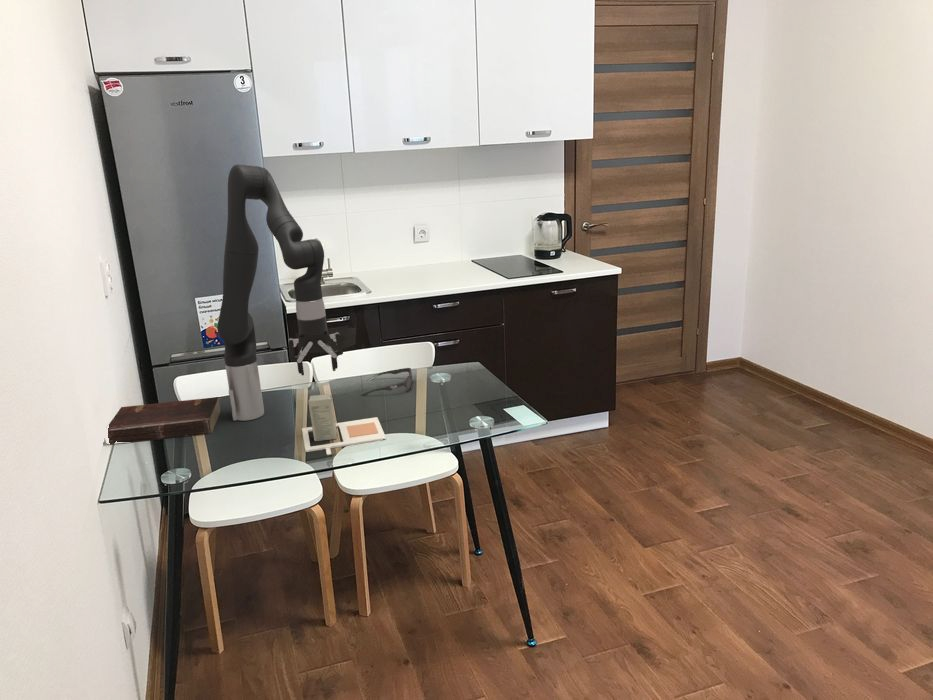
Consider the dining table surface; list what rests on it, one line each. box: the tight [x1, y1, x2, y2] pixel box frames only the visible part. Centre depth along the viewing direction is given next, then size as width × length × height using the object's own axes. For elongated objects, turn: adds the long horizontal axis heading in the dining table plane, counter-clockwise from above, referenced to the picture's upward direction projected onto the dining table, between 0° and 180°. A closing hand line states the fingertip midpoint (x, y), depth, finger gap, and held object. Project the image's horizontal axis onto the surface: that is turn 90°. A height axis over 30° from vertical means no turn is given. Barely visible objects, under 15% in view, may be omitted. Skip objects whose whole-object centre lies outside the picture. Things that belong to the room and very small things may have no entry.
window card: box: [301, 416, 386, 456], centre depth 209 cm, size 22×20×1 cm
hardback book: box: [108, 396, 221, 446], centre depth 222 cm, size 29×19×5 cm, turn 99°
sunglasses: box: [359, 367, 413, 397], centre depth 246 cm, size 16×17×5 cm
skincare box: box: [307, 393, 338, 442], centre depth 208 cm, size 6×4×12 cm
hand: (318, 372), depth 204 cm, fingers open, 8 cm apart
